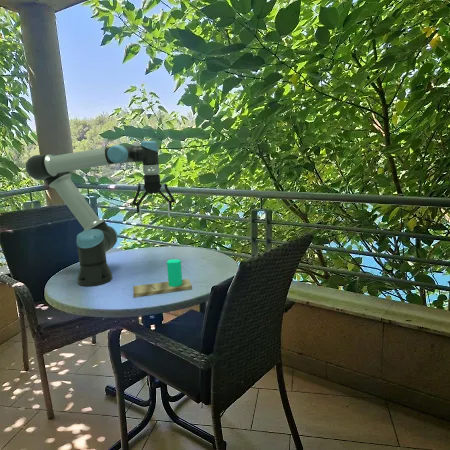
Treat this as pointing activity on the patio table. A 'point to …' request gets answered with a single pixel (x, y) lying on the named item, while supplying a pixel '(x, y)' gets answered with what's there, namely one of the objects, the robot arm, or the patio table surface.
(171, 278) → the candle
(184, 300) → the patio table surface
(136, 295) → the oak board
